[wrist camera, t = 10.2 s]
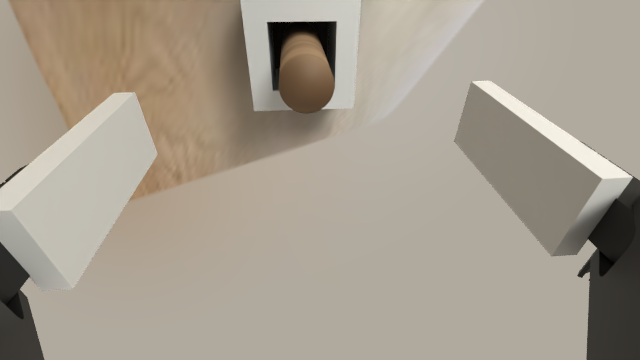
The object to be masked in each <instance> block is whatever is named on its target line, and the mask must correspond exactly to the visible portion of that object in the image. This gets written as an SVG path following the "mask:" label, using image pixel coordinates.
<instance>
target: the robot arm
mask: <svg viewBox="0 0 640 360" xmlns="http://www.w3.org/2000/svg"><path fill="white" fill-rule="evenodd" d="M454 142H455V143H456V144H457V145H458V146H459V147H460V149H461V150H462V151H463V152H464V153H465V155H466V156H467V157H468V158H469V159H470V161H471V162H472V163H473V164H474V165H475V166H476V168H477V169H478V170H479V171H480V172H481V173H482V175H483V176H484V177H485V178H486V179H487V181H488V182H489V183H490V184H491V185H492V187H493V188H494V189H495V190H496V191H497V193H498V194H499V195H500V196H501V197H502V198H503V200H504V201H505V202H506V203H507V204H508V206H509V207H510V208H511V209H512V210H513V211H514V213H515V214H516V215H517V216H518V217H519V219H520V220H521V221H522V222H523V223H524V224H525V226H526V227H527V228H528V229H529V230H530V231H531V233H532V234H533V235H534V236H535V237H536V239H537V240H538V241H539V242H540V243H541V245H542V246H543V247H544V248H545V249H546V250H547V252H548V253H549V254H550V255H551V256H561V255H562V256H563V255H577V253H578V252H579V251H580V249H581V248H582V247H583V245H584V244H585V243H586V241H587V240H588V239H589V240H590V241H591V242H592V243H593V244H594V245H595V246H596V247H597V249H596V251H595V252H594V253H593V255H592V256H591V257H590V259H589V260H588V261H587V262H586V264H585V265H584V266H583V267H582V269H581V270H580V271H579V274H578V276H579V277H581V278H582V277H583V276H584V274H585V273H588V272H590V279H589V281H590V287H589V313H588V338H587V360H640V181H639V180H638V179H637V178H635V177H634V176H632V175H631V174H629V173H628V172H626V171H625V170H623V169H621V168H620V167H619V166H617V165H616V164H614V163H612V162H611V161H609V160H607V159H606V158H605V157H604V156H602V155H601V154H599V153H596V151H595V150H593V149H592V148H590V147H589V146H587V145H586V144H584V143H583V142H581V141H578V140H577V139H575V138H574V137H572V136H571V135H570V134H568V133H567V132H565V131H563V130H562V129H560V128H559V127H558V126H556V125H555V124H553V123H552V122H550V121H549V120H547V119H546V118H544V117H543V116H541V115H540V114H538V113H537V112H535V111H534V110H532V109H531V108H529V107H528V106H526V105H525V104H523V103H522V102H520V101H519V100H517V99H516V98H514V97H513V96H511V95H510V94H508V93H507V92H506V91H504V90H503V89H501V88H500V87H498V86H497V85H495V84H494V83H492V82H491V81H472V82H471V84H470V88H469V91H468V95H467V98H466V102H465V106H464V109H463V113H462V116H461V119H460V123H459V126H458V130H457V133H456V137H455V140H454ZM157 155H158V154H157V151H156V148H155V146H154V143H153V140H152V138H151V135H150V132H149V129H148V127H147V124H146V121H145V118H144V116H143V113H142V110H141V107H140V105H139V102H138V99H137V97H136V94H135V92H126V93H113V94H112V95H111V96H110V97H108V98H107V99H106V100H105V101H104V102H102V103H101V104H100V105H99V106H98V107H97V108H95V109H94V110H93V111H92V112H91V113H89V114H88V115H87V116H86V117H85V118H83V119H82V120H81V121H80V122H79V123H77V124H76V125H75V126H74V127H73V128H72V129H70V130H69V131H68V132H67V133H66V134H64V135H63V136H62V137H61V138H60V139H58V140H57V141H56V142H55V143H54V144H53V145H51V146H50V147H49V148H48V149H47V150H45V151H44V152H43V153H42V154H41V155H39V156H38V157H37V158H36V159H35V160H33V161H32V162H31V163H30V164H28V165H26V166H24V167H22V168H20V169H19V170H17V171H16V172H15V173H14V174H12V175H11V176H10V177H9V178H8V179H6V180H5V181H6V182H5V183H2V184H0V360H44V357H43V353H42V350H41V346H40V342H39V339H38V336H37V331H36V328H35V324H34V320H33V317H32V313H31V310H30V306H29V302H28V299H27V297H26V296H25V295H24V294H23V292H22V291H21V290H20V288H21V287H22V285H23V284H24V283H25V282H26V280H27V279H28V278H29V277H30V278H31V279H32V280H33V281H34V283H35V284H36V285H37V286H38V287H39V288H40V289H41V290H42V291H51V290H65V289H73V288H74V286H75V285H76V283H77V282H78V280H79V278H80V277H81V275H82V274H83V272H84V271H85V269H86V267H87V266H88V264H89V263H90V261H91V260H92V258H93V256H94V255H95V253H96V252H97V250H98V248H99V247H100V245H101V244H102V242H103V240H104V239H105V237H106V236H107V234H108V233H109V231H110V229H111V228H112V226H113V225H114V223H115V221H116V220H117V218H118V217H119V215H120V213H121V212H122V210H123V209H124V207H125V205H126V204H127V202H128V201H129V199H130V198H131V196H132V194H133V193H134V191H135V190H136V188H137V186H138V185H139V183H140V182H141V180H142V178H143V177H144V175H145V174H146V172H147V171H148V169H149V167H150V166H151V164H152V163H153V161H154V159H155V158H156V156H157Z"/></svg>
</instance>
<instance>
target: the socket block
mask: <svg viewBox="0 0 640 360" xmlns="http://www.w3.org/2000/svg"><path fill="white" fill-rule="evenodd" d="M240 3H241V11H242V19H243V27H244V35H245V43H246V51H247V58H248V66H249V74H250V82H251V90H252V98H253V106H254V111H280V110H293V109H291V108H290V107H288V106H287V105H286V104H285V103H284V101H283V100H282V98H281V96H280V92H279V73H280V69H275V58H274V46H273V33H272V22H311V21H328V56H327V61H328V64H329V67H330V69H331V72H332V75H333V78H334V83H335V88H334V93H333V96H332V98H331V100H330V101H329V103H328V104H327V105H326V106H325V107H324V108H322V109H347V108H354V98H355V84H356V69H357V54H358V40H359V25H360V11H361V0H240Z"/></svg>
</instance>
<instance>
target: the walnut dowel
mask: <svg viewBox="0 0 640 360" xmlns="http://www.w3.org/2000/svg"><path fill="white" fill-rule="evenodd" d="M334 88H335V83H334V78H333V75H332V72H331V69H330V67H329V64H328V61H327V58H326V56H325V53H324V50H323V48H322V45H321V42H320V39H319V37H318V34H317V32H316V30H315V28H314V27H313V26H312V25H311V24H309V23H308V22H292V23H291V24H289V25H288V26H287V27H286V29H285V30H284V32H283V36H282V47H281V60H280V73H279V92H280V96H281V98H282V100H283V101H284V103H285V104H286V105H287V106H288V107H290V108H291V109H293V110H294V111H297V112H300V113H313V112H316V111H319V110H321V109H322V108H324V107H325V106H326V105H327V104H328V103H329V101H330V100H331V98H332V96H333V93H334Z"/></svg>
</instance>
